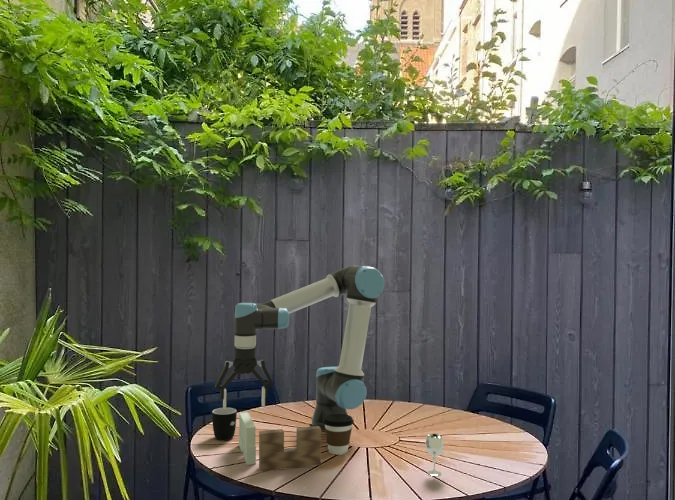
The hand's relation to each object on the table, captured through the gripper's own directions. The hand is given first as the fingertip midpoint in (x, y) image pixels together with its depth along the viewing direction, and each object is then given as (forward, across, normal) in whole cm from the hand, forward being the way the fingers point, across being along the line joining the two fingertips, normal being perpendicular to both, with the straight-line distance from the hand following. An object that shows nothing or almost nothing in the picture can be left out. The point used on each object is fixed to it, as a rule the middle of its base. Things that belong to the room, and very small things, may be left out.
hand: (244, 407), depth 216 cm
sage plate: (+15, 0, +5) cm, 16 cm away
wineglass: (+14, -56, +38) cm, 69 cm away
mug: (+15, +4, -16) cm, 22 cm away
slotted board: (+15, -12, +20) cm, 28 cm away
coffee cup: (+15, -32, +11) cm, 37 cm away
